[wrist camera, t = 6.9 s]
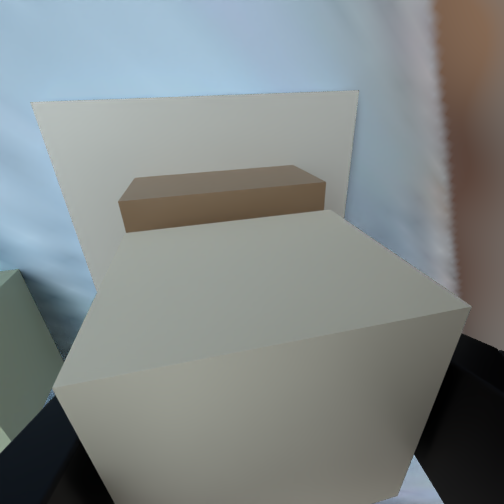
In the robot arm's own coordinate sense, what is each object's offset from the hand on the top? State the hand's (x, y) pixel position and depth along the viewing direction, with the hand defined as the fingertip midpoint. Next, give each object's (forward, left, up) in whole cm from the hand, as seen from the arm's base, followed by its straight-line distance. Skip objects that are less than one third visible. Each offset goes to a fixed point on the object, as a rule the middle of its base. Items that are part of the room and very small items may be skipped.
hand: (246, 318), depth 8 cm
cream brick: (0, 0, -1) cm, 1 cm away
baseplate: (0, 0, -6) cm, 6 cm away
